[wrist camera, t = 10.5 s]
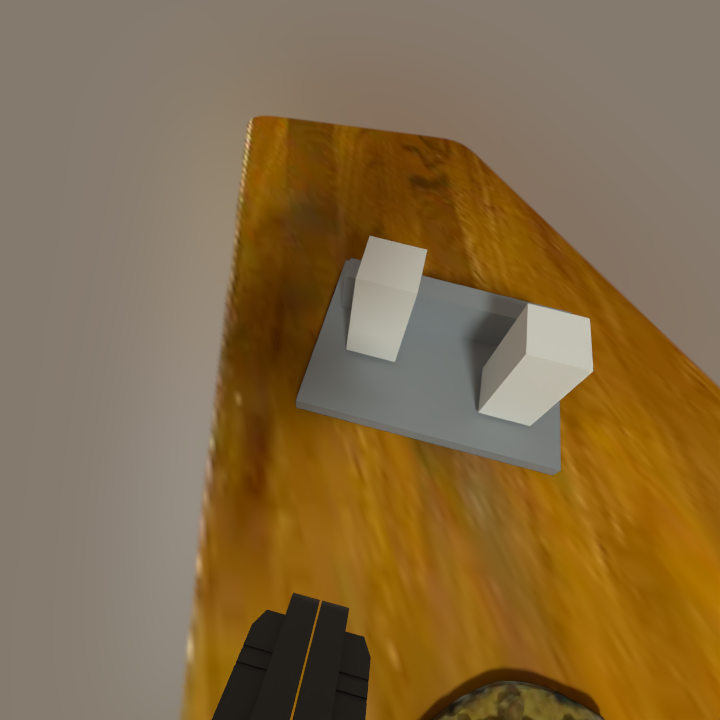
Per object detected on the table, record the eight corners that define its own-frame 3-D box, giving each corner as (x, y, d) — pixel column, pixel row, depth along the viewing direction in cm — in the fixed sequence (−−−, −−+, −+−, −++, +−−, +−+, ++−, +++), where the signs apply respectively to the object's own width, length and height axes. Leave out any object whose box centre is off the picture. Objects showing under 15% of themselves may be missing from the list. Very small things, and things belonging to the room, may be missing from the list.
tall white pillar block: (394, 362, 34) (417, 293, 27) (346, 349, 34) (355, 277, 27) (403, 322, 36) (427, 249, 29) (357, 311, 36) (369, 235, 29)
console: (552, 475, 32) (591, 452, 28) (296, 407, 33) (294, 374, 28) (551, 320, 40) (582, 283, 35) (345, 268, 41) (349, 226, 36)
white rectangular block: (530, 426, 32) (593, 371, 25) (478, 412, 32) (526, 354, 25) (531, 381, 34) (589, 318, 27) (482, 368, 34) (528, 303, 27)
